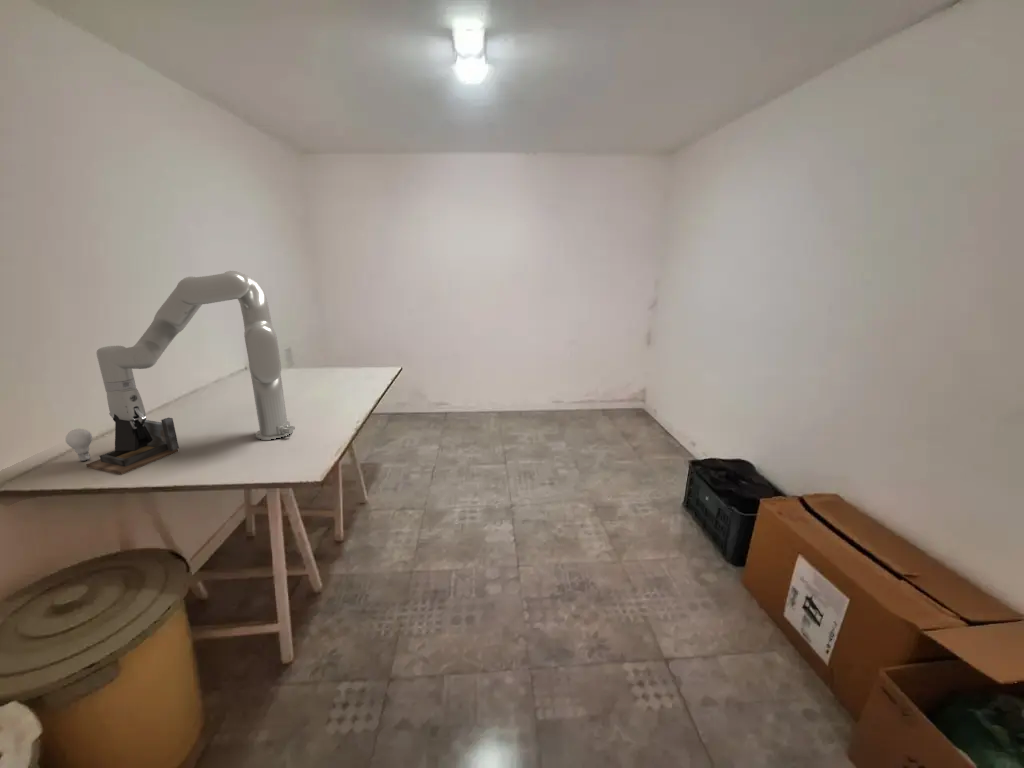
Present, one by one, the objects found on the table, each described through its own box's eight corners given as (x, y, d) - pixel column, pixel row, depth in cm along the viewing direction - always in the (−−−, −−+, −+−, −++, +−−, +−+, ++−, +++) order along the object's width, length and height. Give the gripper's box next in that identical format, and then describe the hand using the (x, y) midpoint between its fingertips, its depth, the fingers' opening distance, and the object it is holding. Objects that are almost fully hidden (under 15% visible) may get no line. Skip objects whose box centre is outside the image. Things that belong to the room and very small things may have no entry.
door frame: (179, 451, 160) (172, 418, 157) (121, 474, 143) (112, 438, 140) (146, 445, 165) (139, 413, 162) (86, 467, 148) (77, 431, 145)
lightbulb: (71, 460, 153) (62, 429, 150) (97, 454, 157) (88, 424, 154) (72, 466, 148) (63, 434, 145) (98, 460, 153) (90, 429, 150)
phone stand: (134, 451, 150) (126, 416, 146) (114, 452, 149) (105, 416, 146) (153, 440, 158) (145, 406, 155) (134, 440, 158) (126, 407, 154)
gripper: (151, 384, 149) (163, 437, 154) (114, 379, 154) (126, 430, 159) (126, 390, 142) (139, 445, 147) (88, 385, 147) (102, 438, 152)
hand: (132, 437), depth 153 cm, fingers closed on phone stand, 6 cm apart
